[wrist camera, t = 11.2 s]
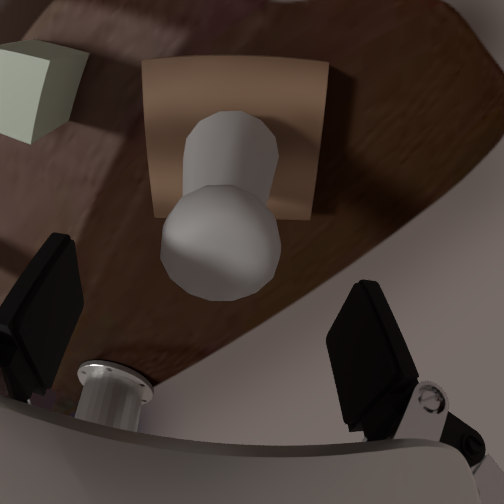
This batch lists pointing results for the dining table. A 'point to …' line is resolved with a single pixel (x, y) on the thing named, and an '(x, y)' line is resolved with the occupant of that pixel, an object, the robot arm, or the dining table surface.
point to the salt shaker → (224, 210)
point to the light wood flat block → (236, 99)
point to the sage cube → (37, 87)
